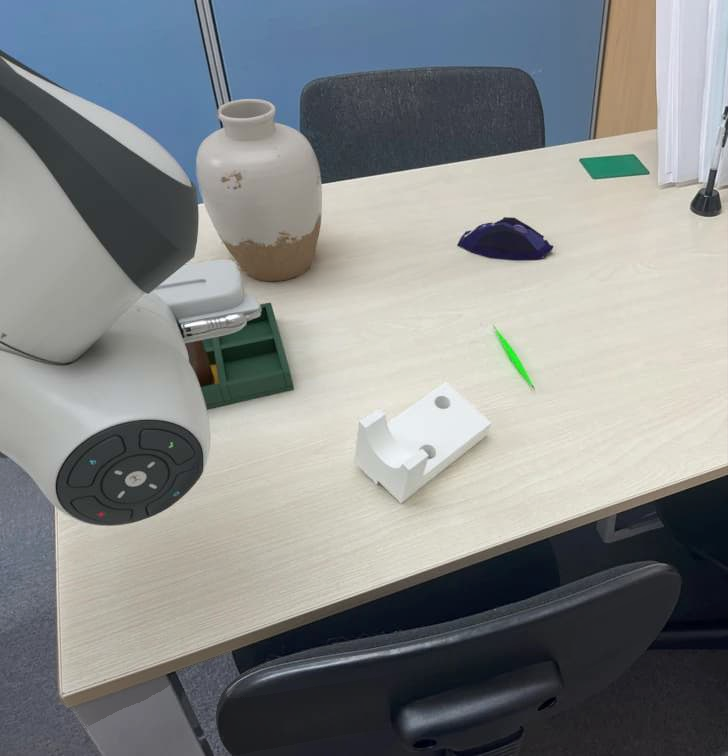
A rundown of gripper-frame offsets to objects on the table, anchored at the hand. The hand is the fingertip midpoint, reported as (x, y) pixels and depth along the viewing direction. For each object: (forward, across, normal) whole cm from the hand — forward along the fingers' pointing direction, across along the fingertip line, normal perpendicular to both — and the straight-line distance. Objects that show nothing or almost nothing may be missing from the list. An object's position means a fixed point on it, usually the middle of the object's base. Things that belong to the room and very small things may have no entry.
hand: (98, 276), depth 58 cm
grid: (+19, -10, +20) cm, 29 cm away
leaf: (+4, -42, +20) cm, 47 cm away
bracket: (-6, -26, +23) cm, 36 cm away
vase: (+38, -22, +16) cm, 47 cm away
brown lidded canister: (+15, -6, +20) cm, 26 cm away
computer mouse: (+28, -55, +15) cm, 64 cm away
